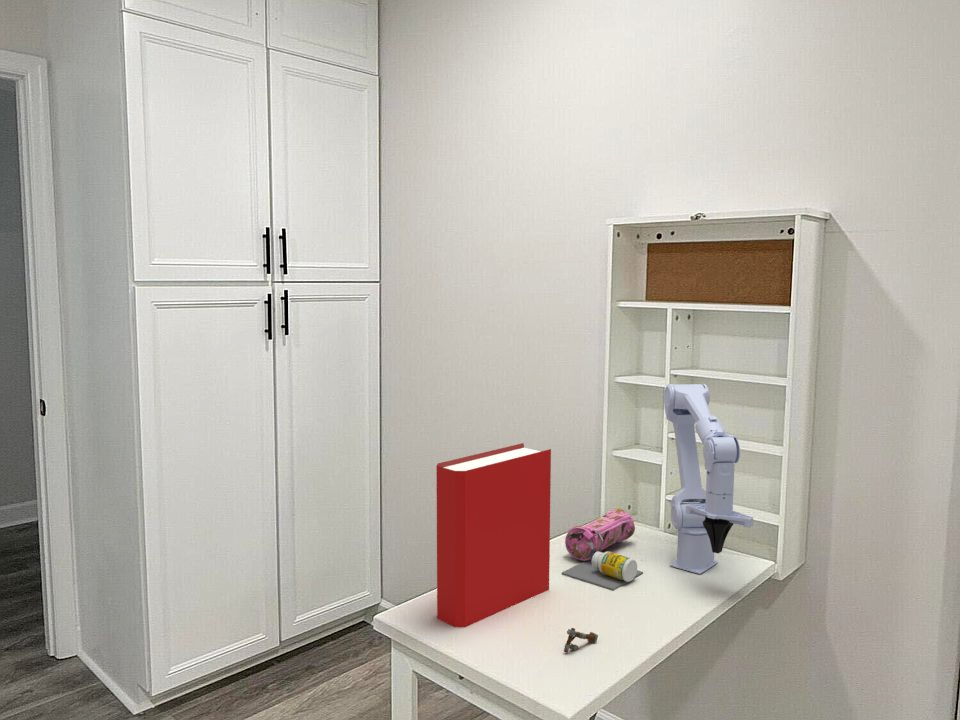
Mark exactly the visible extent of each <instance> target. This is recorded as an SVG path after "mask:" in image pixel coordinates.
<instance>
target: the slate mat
mask: <svg viewBox="0 0 960 720" xmlns="http://www.w3.org/2000/svg"><path fill="white" fill-rule="evenodd" d="M643 574H644V571H641V570H638V569H637V572H636V575H635V577H634V579H636V578H638V577H639V576H641V575H643ZM561 575H562V576H565V577H569V578H572V579H575V580H578V581H581V582H584V583H588V584H591V585H594V586H597V587H599V588H600V587H601V588H603V589H607V590H610V591H615V590H617V589H618V588H620V587H622V586H624V585H625V584H627V583H628V582H626V581H623V580H620V579H617V578H614V577H611V576H607V575H604V574H602V573H601V572H600V570H598V569H595V568H593V566H592V558H591V559H590V560H587V561H581V562H580V563H578V564H576V565H574V566H572V567H569V568H568V569H566V570H564V571H562V572H561Z"/></svg>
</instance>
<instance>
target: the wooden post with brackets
mask: <svg viewBox="0 0 960 720" xmlns="http://www.w3.org/2000/svg"><path fill="white" fill-rule="evenodd" d="M566 635H568V637H567V639H566V643H565V644H564V648H563V652H564V653H565V654H566V653H569V650H571V651H572V652H574V651H578V650H579V646H578V645H577V644H573V643H572V642H573V641H574V640H575V639H576V638H577V639H580V640H581V639H582V640H587V642H590V643H591V644H594V645H595V644H597V640H598V638H599V634H597V633H596V632H595V633H594V632H593V631H590V632H589V633H584V632H581V631H576V628H574V627H571V628H568V629H567V631H566Z"/></svg>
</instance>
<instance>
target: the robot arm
mask: <svg viewBox="0 0 960 720" xmlns="http://www.w3.org/2000/svg"><path fill="white" fill-rule="evenodd" d="M710 399H711V395H710V389H709V387H708V386H707V385H706V383H700V384H699V383H697V384H695V383H693V384H690V383H688V384H687V383H686V384H684V383H682V384H680V383H679V384H678V383H677V384H675V383H674V384H673V383H668V384H667V385H666V386H665V388H664V393H663V402H664V403H663V404H664V413H665V416H666V420H667V421H670V422H671V423H672V425H673V431H674V437H675V445H676V446H675V447H676V455H677V463H678V472H679V481H680V490H679V491H678V492H676V494H674V495H673V497H672V498H671V501H670V506H671V509H670V520H671V524H672V526H673V527H674V529H675V530H677V548H676V549H677V551H676V560H674V561H672V562H670V563H669V566H670V567H672V568H673V567H674V568H677V569H680V570H684V571H687V572H690V573H694V574H697V575H698V574H699V575H701V574H703V573H704V572H707V571H708V570H709V569H711V568H712V567H714V566H715V565H717V564H718V560H715V554H721V552H723V547H724V544H725V542H726V538H727V536H728V535H729V532H730V531H731V528H732V527H733V525H734V524H735V525H739V526H743V527H744V528H747V529H750V528H752V527H753V525H754V524H753V523H754V517H753V516H750V515H748V514H747V515H746V514H744V513H740V512H738V511H735V510H734V509H733V508H734V487H735V466H736V465H735V464H737V463H738V462H739V460H740V457H741V448H740V447H741V446H740V443H739V440H738V438H737V437H736V436H735V435H732V434H728V432H727V431H726V429H725V427H724V425H723V424H722V422H721V419H719V418H718V417H717V416H715V415H713V414H712V412H711V410H710V409H711V408H710V406H709V405H710ZM695 423H696V424H695ZM696 433H697V435H698V437H699V439H700V441H701V443H702V445H703V447H702V451H703V452H702V453H703V459H704V470H706V479H705V480H706V481H705V482H706V484H705V488H703V485H702V480H701V478H702V477H701V471H700V462H699V456H698V455H699V454H698V447H697V440H696V439H697V438H696Z"/></svg>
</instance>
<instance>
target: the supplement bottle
mask: <svg viewBox="0 0 960 720" xmlns="http://www.w3.org/2000/svg"><path fill="white" fill-rule="evenodd" d="M592 566H593V568H595V569H598V570H600V572H601V573H602V574H604V575H607V576H611V577H614V578H617V579H620V580H623V581H626V582H627V583H630V582H631V581H633V580H635V578H634V577H635V575H636V572H637V570H638V563H637V561H636V559H635V558H631V557H628V556H625V555H622V554H619V553H615V552H613V551H605V552H602V551H600V552H596V553H595V554H594V555H593V557H592Z"/></svg>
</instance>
